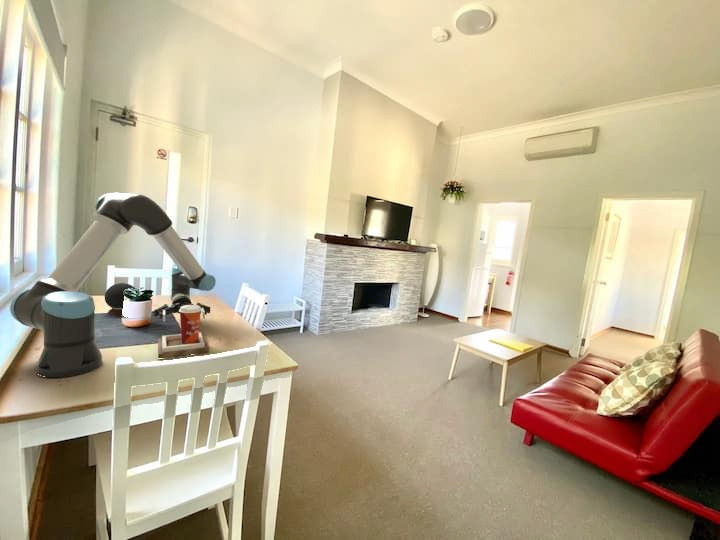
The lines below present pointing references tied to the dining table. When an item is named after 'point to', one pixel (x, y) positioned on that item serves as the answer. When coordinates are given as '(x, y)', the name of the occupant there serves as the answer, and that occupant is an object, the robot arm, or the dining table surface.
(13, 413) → the dining table surface
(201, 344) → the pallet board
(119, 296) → the round bulbous part
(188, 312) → the paper cup
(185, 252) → the robot arm
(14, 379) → the dining table surface
